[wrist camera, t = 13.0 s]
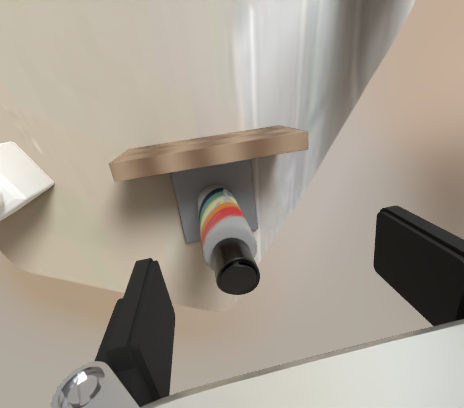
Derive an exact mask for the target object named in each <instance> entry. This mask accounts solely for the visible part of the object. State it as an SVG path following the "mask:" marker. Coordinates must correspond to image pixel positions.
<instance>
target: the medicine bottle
mask: <svg viewBox="0 0 464 408" xmlns="http://www.w3.org/2000/svg"><path fill="white" fill-rule="evenodd" d="M53 185H54V181H53V180H52V179H51V178H50V177H49V176H48V175H47V174H46V173H45V172H44V171H43V170H41V169H40V168H39V167H38V166H37V165H36V164H35V163H34V162H33V161H32V160H31V159H30V158H29V157H28V156H27V155H26V154H25V153H24V152H23V151H22V150H21V149H20V148H19V147H18V146H17V145H16V144H15V143H14V142H6V143H1V144H0V221H1V220H3V219H5V218H6V217H8V216H9V215H11V214H13V213H14V212H16V211H18V210H19V209H20V208H22V207H23V206H25V205H26V204H27V203H29V202H30V201H32V200H33V199H35V198H36V197H37V196H39V195H40V194H42V193H43V192H44V191H46V190H47V189H49V188H50V187H51V186H53Z"/></svg>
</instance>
